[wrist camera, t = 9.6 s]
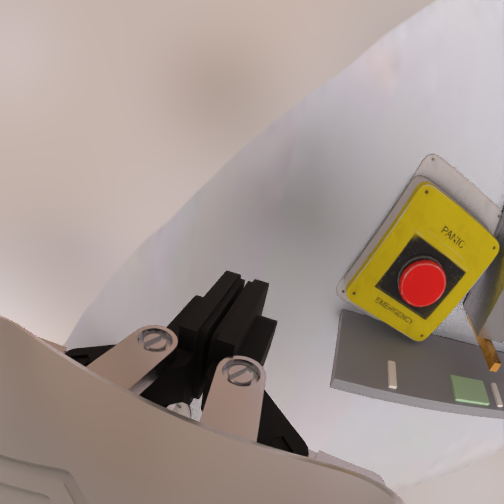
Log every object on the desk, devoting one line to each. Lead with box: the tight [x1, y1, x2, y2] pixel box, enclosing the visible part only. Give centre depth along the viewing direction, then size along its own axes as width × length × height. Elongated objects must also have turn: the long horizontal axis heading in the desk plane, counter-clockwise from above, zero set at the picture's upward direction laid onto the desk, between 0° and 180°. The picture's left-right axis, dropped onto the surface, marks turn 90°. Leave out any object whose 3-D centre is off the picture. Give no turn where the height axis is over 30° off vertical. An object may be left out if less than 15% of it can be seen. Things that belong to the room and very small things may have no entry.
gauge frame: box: [330, 310, 504, 419], centre depth 19 cm, size 16×20×9 cm
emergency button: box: [336, 154, 502, 341], centre depth 22 cm, size 9×4×15 cm
